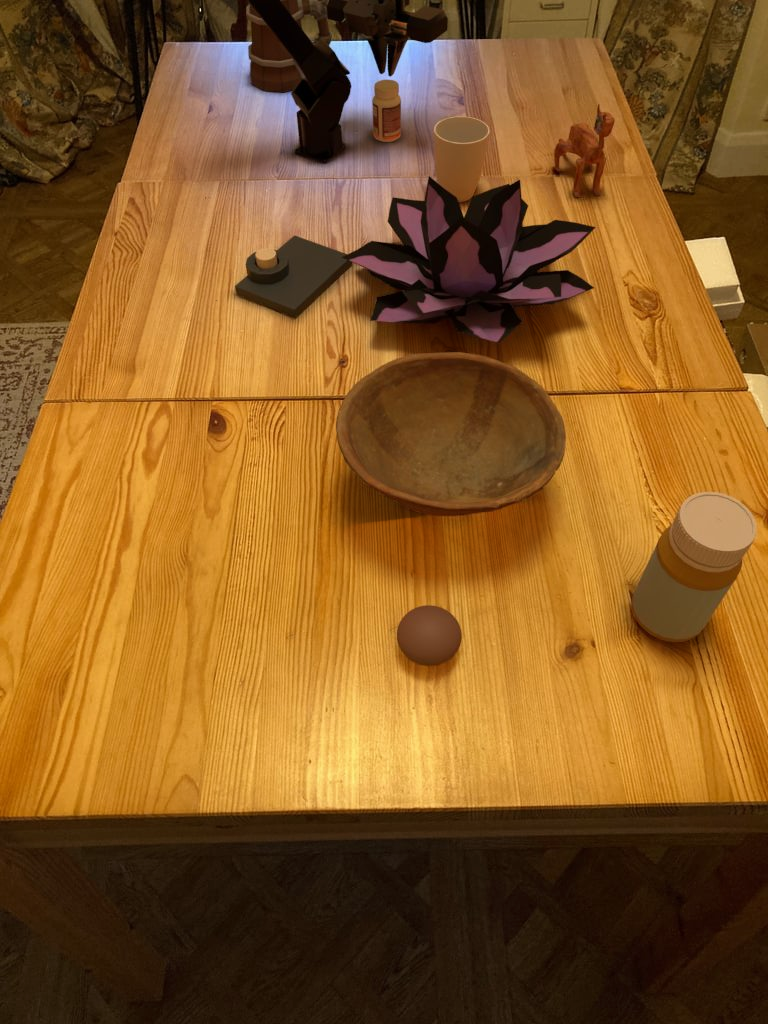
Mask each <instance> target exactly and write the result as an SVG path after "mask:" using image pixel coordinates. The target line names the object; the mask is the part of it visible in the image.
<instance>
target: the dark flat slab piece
mask: <svg viewBox="0 0 768 1024" xmlns="http://www.w3.org/2000/svg"><path fill="white" fill-rule="evenodd" d="M274 250H275V252H276V256H277V265H276V266H275V267H273V268H270V269H261V268H259V267H258V266H257V262H256V255H255V254H256V252H257V251H254V252H252V254H250V255H249V256H248V257H247V258H246V260H245V269H246V276H244V278H242V279H241V280H240V281H238V283H236V284H235V285H234V289H235V295H237V296H239V297H242V298H244V299H247V300H249V301H252V302H254V303H256V304H259V305H262V306H264V307H267V308H269V309H271V310H274V311H276V312H278V313H282V314H285V315H286V316H289V317H291V318H294V319H296V318H297V317H299V316H300V314H301V313H303V312H304V311H305V310H306V309H307V308H308V307H309V306H310V305H311V304H313V302H314V301H316V299H318V298H319V297H320V296H321V295H322V294H323V293H324V292H325V291H326V290H327V289H328V288H329V287H331V285H332V284H334V283H335V281H336V280H337V279H339V278H340V277H341V276H342V275H343V274H344V273H345V272H346V271H347V270H348V269H349V268H351V266H352V265H353V263H352V262H350V261H348V260H346V259H344V258H341V257H343V256H345V255H347V254H348V253H345V252H343V251H340V250H336V249H334V248H331V247H328V246H326V245H323V244H320V243H317V242H315V241H312V240H309V239H306V238H303V237H300V236H298V235H293V236H292V237H290V238H289V239H288V240H287V241H286V242H285V243H284V244H283V245H281V246H280V247H279V248H277V249H274Z"/></svg>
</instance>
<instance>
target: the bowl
mask: <svg viewBox="0 0 768 1024" xmlns="http://www.w3.org/2000/svg"><path fill="white" fill-rule="evenodd" d="M335 432H336V440H337V445H338V447H339V449H340V453H341V455H342V458H343V459H344V461H345V463H346V464H347V465H348V467H349V468H350V469H351V470H352V472H353V473H354V474H355V476H357V478H359V480H360V481H361V482H363V483H364V484H365V485H366V486H367V487H369V488H370V489H372V490H374V491H376V492H377V493H379V494H380V495H382V496H383V497H385V498H387V499H389V500H391V501H393V502H395V503H397V504H399V505H401V506H402V507H405V508H407V509H409V510H411V511H414V512H417V513H420V514H423V515H428V516H434V517H435V516H437V517H461V516H469V515H475V514H484V513H490V512H491V513H492V512H495V511H498V510H501V509H504V508H505V509H506V508H508V507H510V506H513V505H515V504H518V503H520V502H522V501H524V500H527V499H530V498H532V497H533V496H535V495H536V494H537V493H538V492H540V491H542V490H543V489H544V487H546V486H547V484H549V482H550V481H551V480H552V478H553V477H554V476H555V474H556V472H557V471H558V470H559V468H560V467H561V464H562V462H563V460H564V456H565V454H566V453H565V452H566V443H567V433H566V432H567V431H566V426H565V422H564V419H563V416H562V414H561V413H560V411H559V409H558V407H557V406H556V405H555V402H553V400H552V398H551V396H550V395H549V393H548V392H547V391H546V389H545V388H544V387H543V386H542V385H541V384H540V383H538V382H537V381H536V380H535V379H533V378H531V377H530V376H529V375H528V374H526V373H525V372H524V371H522V370H520V369H519V368H518V367H516V366H514V365H512V364H509V363H506V362H502V361H501V360H498V359H495V358H492V357H490V356H487V355H486V356H485V355H481V354H477V353H468V352H461V351H460V352H459V351H448V352H447V351H446V352H425V353H412V354H407V355H404V356H401V357H398V358H395V359H393V360H391V361H388V362H386V363H384V364H382V365H380V366H379V367H377V368H375V369H374V370H373V371H371V372H370V373H368V374H367V375H365V376H364V377H362V378H361V379H360V380H358V381H357V382H356V383H355V384H354V385H353V386H352V388H351V389H349V391H348V392H347V393H346V395H345V397H344V399H343V401H342V402H341V404H340V407H339V409H338V410H337V415H336V420H335Z"/></svg>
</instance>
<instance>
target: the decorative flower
mask: <svg viewBox="0 0 768 1024" xmlns="http://www.w3.org/2000/svg"><path fill="white" fill-rule="evenodd" d="M521 188H522V185H521V179H518V180H516V181H514V182H513V183H511V184H510V183H507V184H506V183H505V184H503V185H500V186H497V187H494V188H491V189H488V190H486V191H483V192H481V193H478V194H476V195H473V196H472V198H471V199H470V201H469V204H468V207H467V209H466V212H465V214H464V213H463V211H462V208H461V206H460V202H458V200H457V197H455V196H454V195H453V194H451V193H450V192H449V191H447V190H446V189H444V188H443V187H442V186H441V185H439V184H438V181H437V180H435V179H433V178H432V177H431V176H430V175H428V178H427V183H426V189H425V194H424V200H419V199H418V200H417V199H408V198H401V197H395V196H393V197H391V202H390V205H389V210H388V217H387V223H388V225H389V226H390V227H391V229H392V230H393V232H394V233H395V235H396V236H397V238H398V239H399V240H400V242H401V243H402V244H400V243H392V242H383V241H375V240H370V241H369V242H367V243H365V244H363V246H361V247H359V248H358V249H357V248H356V249H355V250H354V251H352V252H349V253H346V254H347V255H345V256H343V257H341V258H344V259H346V260H348V261H350V262H352V264H355V265H357V266H359V267H361V268H363V269H366V271H367V272H368V273H369V274H370V275H371V276H372V277H373V278H375V279H377V280H379V281H381V282H382V283H384V284H386V285H388V286H390V287H391V288H392V289H393V288H394V289H398V290H399V291H396V292H392V293H387V294H383V295H378V296H376V298H375V302H374V307H373V309H372V314H371V317H370V322H385V323H387V322H389V323H400V324H410V325H411V324H413V325H424V324H437V323H439V322H441V321H444V320H447V319H450V321H451V322H452V325H453V326H454V328H455V330H456V332H459V333H462V334H465V335H467V336H471V337H473V338H476V339H481V340H485V341H489V342H493V343H497V344H500V343H502V342H503V341H504V340H505V339H506V338H507V337H508V336H509V335H510V334H511V333H512V332H513V331H515V330H516V329H517V328H518V327H519V326H520V325H521V324H523V319H522V318H521V317H520V315H519V314H518V313H517V311H516V310H515V309H514V308H518V307H519V308H520V307H536V306H539V307H540V306H552V305H556V304H559V303H561V302H564V301H566V300H569V299H572V298H574V297H577V296H580V295H582V294H584V293H586V292H588V291H590V290H593V289H595V287H594V286H593V285H591V284H590V283H589V282H587V281H586V280H585V279H584V278H582V277H580V275H579V276H578V275H577V274H576V273H574V272H572V271H570V270H568V269H565V270H548V271H541V270H543V269H545V268H546V267H548V266H550V265H552V264H553V263H555V262H556V261H558V260H560V259H561V258H563V257H565V256H567V255H568V254H570V253H572V252H573V251H574V250H575V249H576V248H577V247H579V245H580V244H582V243H583V242H584V241H585V240H586V238H587V237H588V236H589V235H590V234H592V232H593V231H594V230H595V229H596V226H593V225H588V224H583V223H579V222H575V221H568V220H561V219H554V220H552V221H550V222H548V223H546V224H533V225H525V226H523V225H524V220H525V217H526V214H527V211H528V208H529V204H527V202H526V201H525V200H524V199H523V198H522V189H521Z"/></svg>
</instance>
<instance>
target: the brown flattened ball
mask: <svg viewBox="0 0 768 1024" xmlns="http://www.w3.org/2000/svg"><path fill="white" fill-rule="evenodd" d="M462 636H463V634H462V628H461V626H460V623H459V621H458V620H457V618H456V617H455V616H454V615H453V613H451V612H450V611H449V610H447V609H445V608H443V607H440V606H437V605H431V604H429V605H428V604H426V605H420V606H416V607H414V608H412V609H411V610H409V611H407V612H406V614H405V615H403V617H402V618H401V620H400V621H399V623H398V626H397V629H396V642H397V645H398V647H399V650H400V651H401V653H402V654H403V656H405V658H407V659H408V660H409V661H411V662H412V663H414V664H416V665H419V666H423V667H437V666H440V665H443V664H446V663H447V662H449V661H450V660H451V659H453V657H455V655H456V654H457V653H458V651H459V649H460V647H461V645H462V639H463V637H462Z"/></svg>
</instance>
